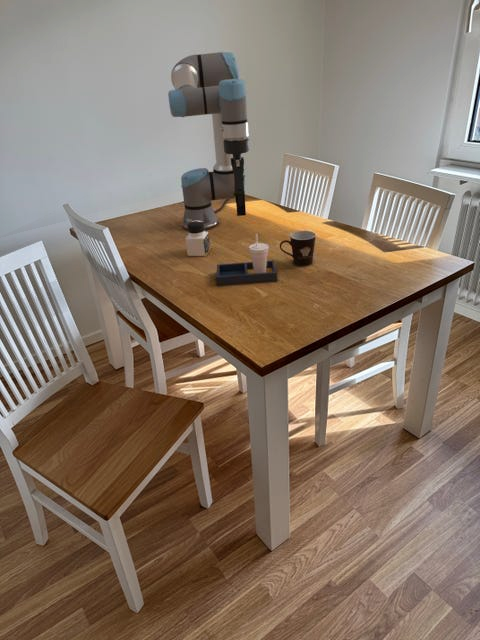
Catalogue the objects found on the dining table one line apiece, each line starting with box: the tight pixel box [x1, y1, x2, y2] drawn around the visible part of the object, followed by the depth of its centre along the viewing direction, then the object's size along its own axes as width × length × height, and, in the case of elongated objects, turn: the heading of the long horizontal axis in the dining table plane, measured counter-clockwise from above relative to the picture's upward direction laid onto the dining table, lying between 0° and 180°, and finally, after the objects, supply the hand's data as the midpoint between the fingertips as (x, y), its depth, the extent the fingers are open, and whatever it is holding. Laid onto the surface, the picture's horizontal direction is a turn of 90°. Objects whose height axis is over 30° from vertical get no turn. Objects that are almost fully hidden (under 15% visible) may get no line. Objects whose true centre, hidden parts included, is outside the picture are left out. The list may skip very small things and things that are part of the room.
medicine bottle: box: [184, 221, 211, 257], centre depth 169 cm, size 7×7×12 cm
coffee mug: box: [279, 230, 317, 267], centre depth 156 cm, size 12×9×10 cm
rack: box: [215, 260, 278, 287], centre depth 151 cm, size 10×19×3 cm, turn 91°
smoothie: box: [248, 233, 270, 273], centre depth 147 cm, size 6×6×14 cm
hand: (240, 208), depth 146 cm, fingers open, 13 cm apart
